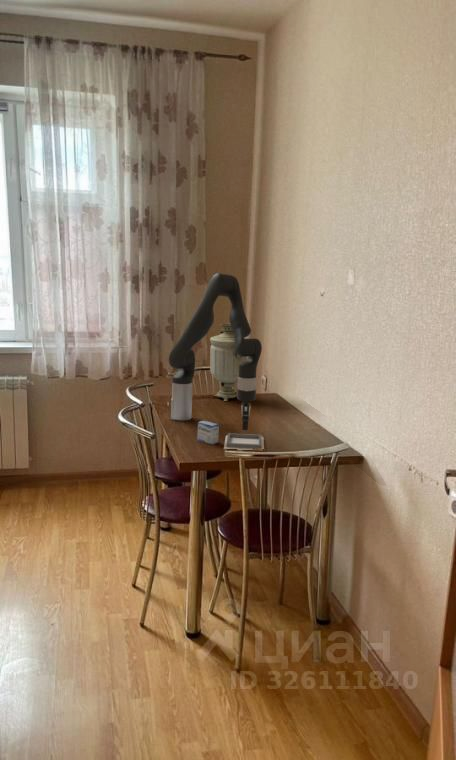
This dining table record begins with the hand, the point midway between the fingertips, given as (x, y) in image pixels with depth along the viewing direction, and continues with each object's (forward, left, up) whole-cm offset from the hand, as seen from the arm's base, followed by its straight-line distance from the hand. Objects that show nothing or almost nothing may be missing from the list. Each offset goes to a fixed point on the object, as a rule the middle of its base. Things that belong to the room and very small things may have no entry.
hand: (245, 427), depth 249 cm
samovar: (-8, +79, -8) cm, 79 cm away
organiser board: (0, 0, -8) cm, 8 cm away
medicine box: (-15, +1, -8) cm, 17 cm away
